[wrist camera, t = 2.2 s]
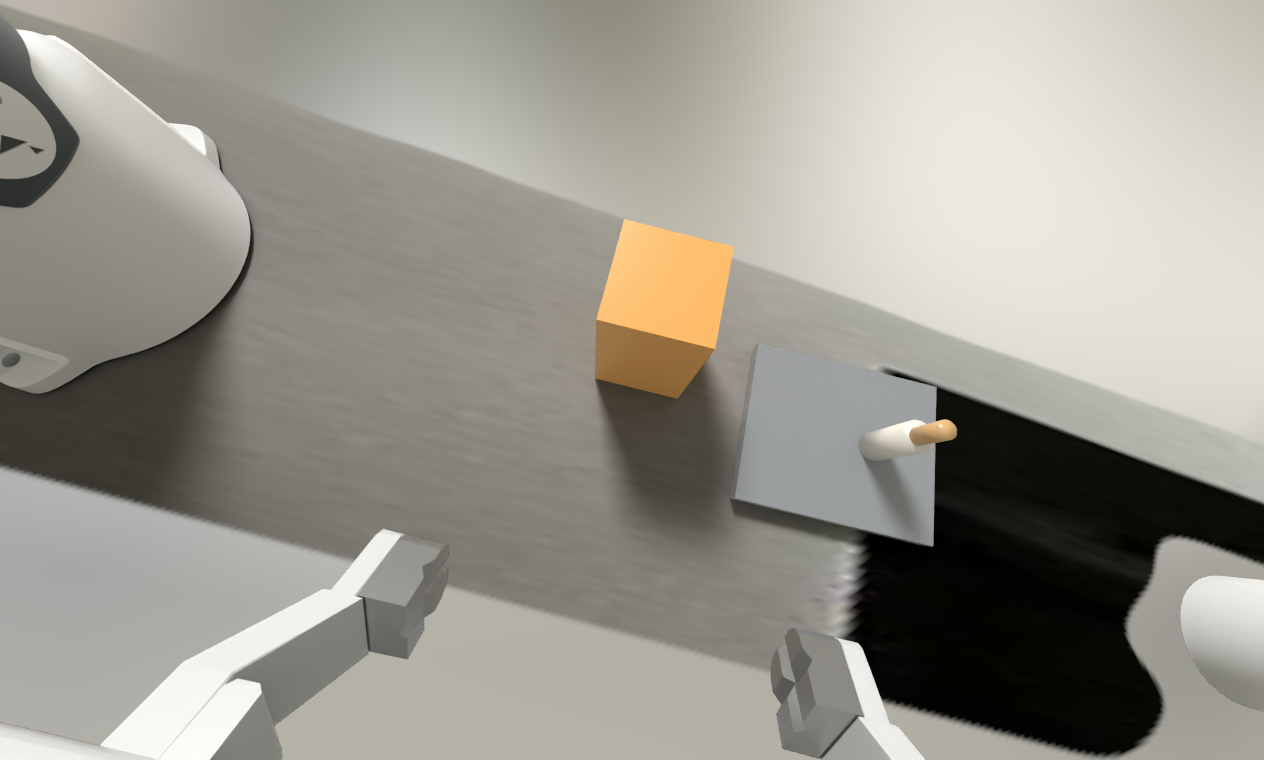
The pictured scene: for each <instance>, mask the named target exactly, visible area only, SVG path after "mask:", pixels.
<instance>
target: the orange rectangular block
mask: <svg viewBox="0 0 1264 760" xmlns="http://www.w3.org/2000/svg"><path fill="white" fill-rule="evenodd" d="M733 249H734V247H733V246H729V245H725V244H721V243H717V242H713V241H709V240H705V239H701V238H697V237H693V236H689V235H685V234H681V233H677V232H673V231H669V230H665V229H661V228H657V227H653V226H649V225H646V224H642V223H638V222H634V221H630V220H626V219H624V223H623V226H622V230H621V234H620V237H619V241H618V244H617V248H616V251H615V255H614V259H613V262H612V266H611V269H610V273H609V277H608V280H607V284H606V287H605V291H604V294H603V298H602V302H601V305H600V309H599V312H598V316H597V319H596V360H595V379H599V380H603V381H607V382H611V383H615V384H619V385H623V386H627V387H631V388H635V389H639V390H643V391H647V392H651V393H655V394H659V395H663V396H668V397H672V398H676V399H678V398H679V396H680V395H681V394H682V392H683V391H684V390H685V388H686V387H687V386H688V384H689V383H690V382H691V380H692V379H693V378H694V376H695V375H696V374H697V372H698V371H699V370H700V368H701V367H702V366H703V364H704V363H705V362H706V360H707V359H708V358H709V356H710V355H711V354H712V352H713V351H714V350H715V346H716V341H717V336H718V330H719V325H720V319H721V314H722V309H723V303H724V298H725V292H726V287H727V282H728V276H729V271H730V266H731V260H732V255H733Z"/></svg>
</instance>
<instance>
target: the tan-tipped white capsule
mask: <svg viewBox="0 0 1264 760" xmlns="http://www.w3.org/2000/svg"><path fill="white" fill-rule="evenodd" d="M956 435H957V429H956V427H955V425H954V424H953V423H952V422H951V421H949V420H940V421H937V422H933V423H929V424H925V423H924V422H922V421H919V420H910V421H907V422H903V423H900V424H897V425H893V426H890V427H886V428H883V429H879V430H876V431H872V432H869V433H866V434H864V435H863V436H862V437H861V438H860V440H859V450H860V452H861V454H862V455H863V457H864V458H866V459H867V460H869V461H872V462H878V461H884V460H889V459H895V458H901V457H906V456H912V455H917V454H923V453H927V452H929V451H930V450H931V449H932V447H933V445H934V443H937V442H942V441H947V440H952V439H954V438H955V437H956Z"/></svg>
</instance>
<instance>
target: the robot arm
mask: <svg viewBox="0 0 1264 760" xmlns="http://www.w3.org/2000/svg"><path fill="white" fill-rule="evenodd" d="M249 244H250V222H249V217H248V213H247V210H246V207H245V205H244V203H243V201H242V199H241V197H240V195H239V194H238V193H237V191H236V190H235V189H234V188H233V186H232V185H231V184H230V183H229V182H228V181H227V179H226V178H225V177H224V175H223V174H222V172H221V170H220V166H219V158H218V153H217V148H216V146H215V143H214V142H213V140H212V139H211V138H209V137H208V136H207V135H206V134H204V133H203V132H202V131H201V130H199V129H198V128H196V127H194V126H190V125H182V124H171V123H166V122H165V121H164V120H163V119H162V118H160V117H159V116H158V115H157V114H155V113H154V112H153V111H152V110H151V109H149V108H148V107H147V106H146V105H144V104H143V103H142V102H141V101H140V100H138V99H137V98H136V97H135V96H133V95H132V94H131V93H130V92H128V91H127V90H126V89H125V88H124V87H122V86H121V85H120V84H119V83H117V82H116V81H115V80H114V79H112V78H111V77H110V76H109V75H108V74H106V73H105V72H104V71H103V70H101V69H100V68H99V67H98V66H96V65H95V64H94V63H93V62H91V61H90V60H89V59H88V58H86V57H85V56H84V55H83V54H81V53H80V52H79V51H78V50H76V49H75V48H74V47H72V46H71V45H69V44H68V43H66V42H65V41H63V40H61V39H59V38H57V37H55V36H44V35H41V34H38V33H35V32H31V31H25V30H16V29H15V28H14V27H13V26H12V25H11V24H10V23H9V22H8V21H7V20H6V19H4V18H3V17H2V16H1V15H0V382H1V383H4V384H6V385H8V386H11V387H14V388H17V389H20V390H23V391H26V392H30V393H44V392H48V391H51V390H53V389H55V388H58V387H60V386H61V385H63V384H65V383H67V382H69V381H70V380H72V379H74V378H75V377H77V376H78V375H80V374H82V373H83V372H85V371H86V370H88V369H90V368H91V367H93V366H94V365H97V364H99V363H102V362H104V361H107V360H110V359H114V358H117V357H121V356H125V355H129V354H132V353H136V352H139V351H142V350H145V349H148V348H151V347H153V346H156V345H158V344H160V343H162V342H165V341H167V340H169V339H171V338H173V337H175V336H176V335H178V334H180V333H181V332H183V331H185V330H186V329H188V328H189V327H191V326H192V325H194V324H195V323H196V322H198V321H199V320H200V319H202V318H203V317H204V316H205V315H206V314H208V313H209V312H210V311H211V310H212V309H213V308H214V307H215V306H216V305H217V304H218V303H219V302H220V301H221V300H222V299H223V297H224V296H225V295H226V294H227V292H228V291H229V290H230V288H231V287H232V286H233V284H234V282H235V281H236V279H237V278H238V276H239V274H240V272H241V270H242V267H243V265H244V263H245V260H246V257H247V253H248V249H249ZM448 556H449V546H447V545H443V544H439V543H435V542H432V541H428V540H424V539H420V538H416V537H413V536H409V535H406V534H402V533H397V532H393V531H389V530H385V529H383V530H382V531H380V532H379V533H378V534H376V535H375V536H374V538H373V539H372V540H371V541H370V542H369V544H368V545H367V546H366V547H365V549H364V550H363V551H362V552H361V553H360V555H359V556H358V557H357V558H356V560H355V561H354V562H353V563H352V564H351V566H350V567H349V568H348V569H347V571H346V572H345V573H344V574H343V576H342V577H341V578H340V579H339V580H338V581H337V583H336V584H335V585H334V586H333V588H332V589H331V590H328V589H322V590H320V591H318V592H316V593H315V594H312V595H311V596H309V597H307V598H305V599H303V600H301V601H299V602H297V603H295V604H293V605H292V606H289V607H288V608H286V609H284V610H282V611H280V612H278V613H276V614H274V615H272V616H271V617H268V618H267V619H265V620H263V621H261V622H259V623H257V624H255V625H253V626H251V627H249V628H247V629H245V630H243V631H242V632H240V633H238V634H236V635H234V636H232V637H230V638H228V639H226V640H224V641H222V642H221V643H218V644H216V645H215V646H213V647H211V648H209V649H207V650H205V651H203V652H201V653H199V654H197V655H195V656H193V657H192V658H190V659H188V660H186V661H184V662H182V663H181V664H180V665H179V666H178V667H177V668H176V669H175V670H174V671H173V672H172V673H171V674H170V675H169V676H168V677H167V678H166V679H165V681H163V682H162V683H161V684H160V685H159V686H158V687H157V688H156V689H155V690H154V691H153V692H152V693H151V694H150V695H149V696H148V698H146V699H145V700H144V701H143V702H142V703H141V704H140V705H139V706H138V707H137V708H136V709H135V710H134V711H133V712H132V713H131V714H130V716H129V717H127V719H125V721H123V722H122V724H121V725H119V726H118V727H117V728H116V730H114V731H113V732H112V734H111V735H109V737H107V739H105V740H104V742H103V743H102V744H101V745H96V744H91V743H87V742H83V741H79V740H74V739H70V738H66V737H62V736H58V735H53V734H49V733H45V732H41V731H36V730H32V729H28V728H23V727H19V726H15V725H11V724H6V723H2V722H0V760H282V748H281V745H280V742H279V739H278V736H277V733H276V730H275V727H274V726H275V725H276V724H277V723H279V722H280V721H281V720H283V719H284V718H285V717H287V716H288V715H289V714H291V713H292V712H293V711H295V710H296V709H297V708H298V707H300V706H301V705H302V704H304V703H305V702H306V701H308V700H309V699H310V698H312V697H313V696H314V695H316V694H317V693H318V692H319V691H321V690H322V689H323V688H325V687H326V686H327V685H329V684H330V683H331V682H333V681H334V680H335V679H336V678H338V677H339V676H340V675H342V674H343V673H344V672H345V671H347V670H348V669H350V668H351V667H352V666H353V665H355V664H356V663H357V662H359V661H360V660H361V659H363V658H364V657H365V656H367V655H368V651H370V652H375V653H379V654H384V655H389V656H394V657H399V658H403V659H408V658H409V656H410V654H411V653H412V651H413V649H414V647H415V646H416V644H417V642H418V640H419V638H420V637H421V635H422V633H423V631H424V618H425V617H426V616H428V615H429V614H431V613H432V612H434V611H435V609H436V607H437V605H438V604H439V602H440V600H441V598H442V595H443V592H444V590H445V587H446V584H447V579H448V568H447V566H446V565H445V564H444V563H445V562H446V560H447V558H448ZM785 640H786V644H785V645H783V646H781V647H778V648H777V650H776V652H775V654H774V655H773V658H772V664H771V683H772V690H773V693H774V695H775V696H776V697H777V699H778V700H779V702H780V703H781V706H780V708H779V710H778V712H777V714H776V715H777V720H778V726H779V732H780V738H781V744H782V749H785V750H789V751H792V752H796V753H800V754H804V755H807V756H811V757H814V758H818V759H822V760H925V759H924V758H923V757H922V755H921V754H920V753H919V752H918V750H917V749H916V748H915V747H914V746H913V745H912V743H911V742H910V741H909V740H908V738H907V737H906V736H905V735H904V734H903V732H902V731H901V730H900V729H899V728H898V726H896V725H892V724H890V722H889V719H888V717H887V714H886V711H885V708H884V706H883V703H882V700H881V698H880V695H879V692H878V689H877V687H876V684H875V681H874V679H873V676H872V673H871V671H870V668H869V665H868V662H867V660H866V657H865V654H864V652H863V649H862V648H861V646H860V645H859V644H858V643H855V642H852V641H847V640H843V639H838V638H834V637H833V636H828V635H824V634H819V633H815V632H810V631H806V630H801V629H797V628H792V629H790V630H789V631H788V632H787V634H786V635H785Z"/></svg>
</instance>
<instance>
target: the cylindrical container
mask: <svg viewBox="0 0 1264 760" xmlns="http://www.w3.org/2000/svg"><path fill="white" fill-rule="evenodd" d="M1180 622H1181V628H1182V634H1183V638H1184V641H1185V644H1186V647H1187V649H1188V651H1189V653H1190V656H1191V658H1192V660H1193V661H1194V663H1195V664H1196V666H1197V668H1198V669H1199V671H1200V672H1201V673H1202V675H1203V676H1204V677H1205V678H1206V679H1207V681H1208V682H1209V683H1210V684H1211V685H1212V686H1213V687H1214V688H1216V689H1217V690H1218V691H1219V692H1220V693H1221V694H1223V695H1224V696H1226V697H1227V698H1229V699H1230V700H1232V701H1234V702H1236V703H1239V704H1241V705H1243V706H1247V707H1250V708H1253V709H1257V710H1260V711H1264V580H1255V579H1245V578H1236V577H1226V576H1208V577H1204V578H1201V579H1199V580H1197V581H1196V582H1194V583H1193V584H1192V585H1191V586H1190V588H1188V590H1187V592H1186V594H1185V595H1184V597H1183V601H1182V605H1181V615H1180Z"/></svg>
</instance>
